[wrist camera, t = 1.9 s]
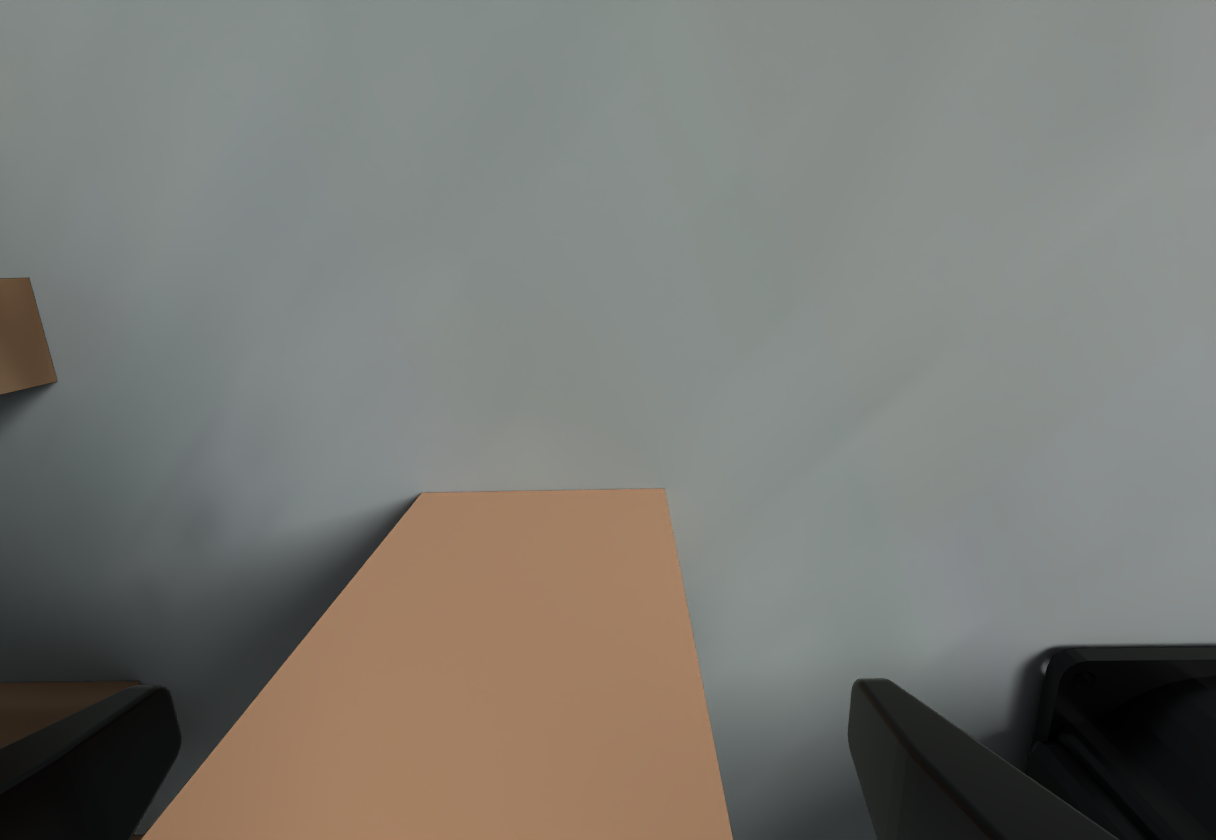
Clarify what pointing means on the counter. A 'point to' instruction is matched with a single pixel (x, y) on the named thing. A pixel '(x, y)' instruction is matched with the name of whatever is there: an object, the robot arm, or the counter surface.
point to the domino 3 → (483, 689)
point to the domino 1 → (22, 339)
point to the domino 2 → (47, 704)
